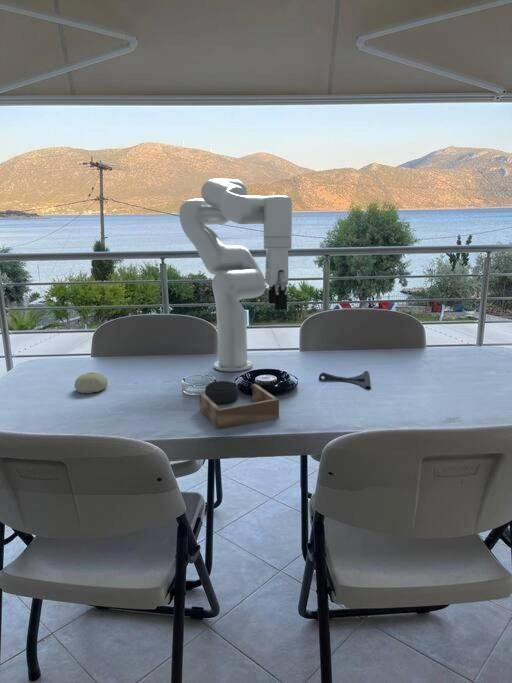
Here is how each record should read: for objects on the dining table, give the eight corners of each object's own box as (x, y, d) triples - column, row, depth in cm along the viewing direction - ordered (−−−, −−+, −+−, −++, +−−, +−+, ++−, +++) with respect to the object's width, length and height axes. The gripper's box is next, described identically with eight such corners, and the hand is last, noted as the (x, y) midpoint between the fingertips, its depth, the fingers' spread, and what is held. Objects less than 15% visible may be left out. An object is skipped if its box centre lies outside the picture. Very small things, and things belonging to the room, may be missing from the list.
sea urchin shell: (115, 379, 143) (102, 366, 137) (106, 403, 140) (91, 391, 133) (90, 376, 146) (75, 363, 140) (79, 400, 143) (64, 388, 136)
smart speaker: (242, 402, 128) (242, 388, 127) (210, 407, 125) (209, 392, 124) (232, 392, 136) (232, 378, 135) (202, 396, 133) (201, 382, 132)
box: (200, 409, 123) (199, 393, 122) (256, 399, 129) (255, 383, 128) (218, 429, 111) (217, 410, 110) (279, 417, 117) (278, 399, 116)
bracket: (320, 374, 152) (320, 365, 151) (368, 375, 149) (369, 367, 149) (317, 389, 138) (317, 380, 138) (370, 391, 135) (371, 382, 135)
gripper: (258, 242, 138) (259, 301, 142) (269, 245, 121) (269, 312, 126) (284, 241, 139) (284, 300, 143) (298, 245, 122) (297, 311, 127)
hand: (277, 306), depth 134 cm, fingers open, 9 cm apart
